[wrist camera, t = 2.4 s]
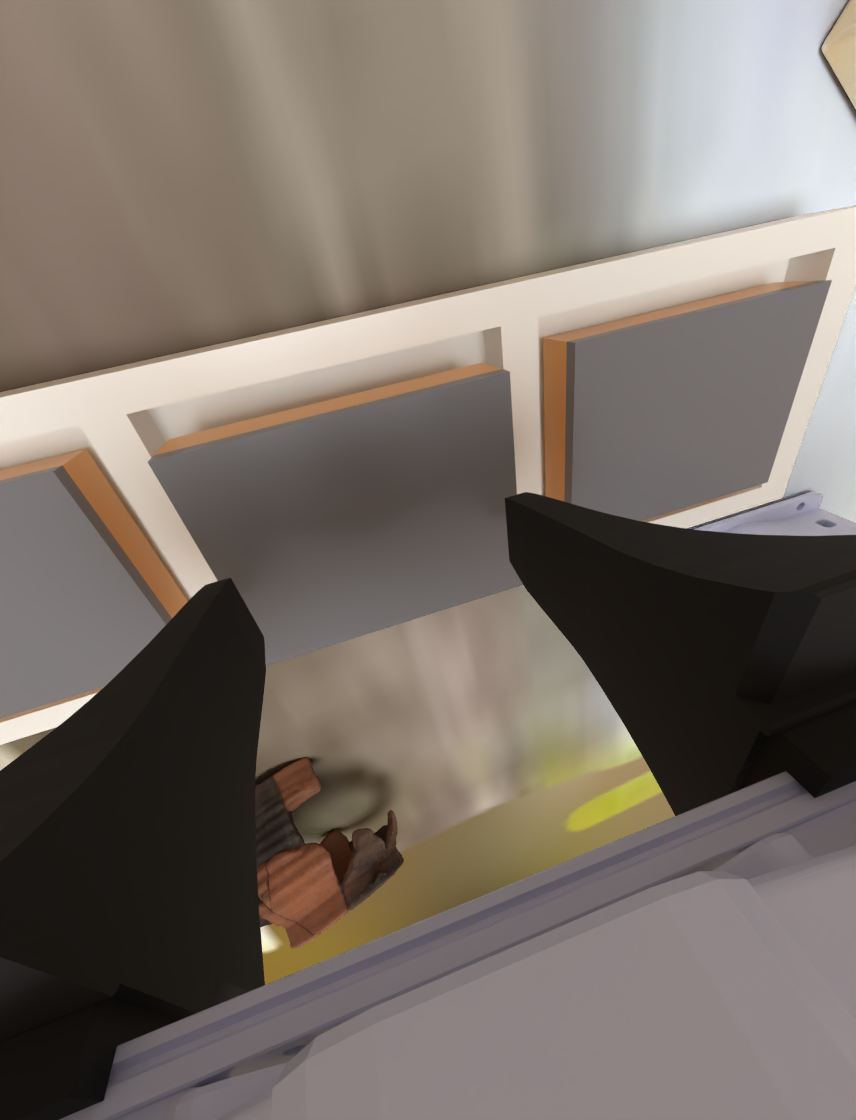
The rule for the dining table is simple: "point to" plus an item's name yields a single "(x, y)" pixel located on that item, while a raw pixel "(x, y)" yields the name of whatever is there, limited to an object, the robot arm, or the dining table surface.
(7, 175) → the dining table surface
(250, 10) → the dining table surface
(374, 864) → the brown grey irregular piece
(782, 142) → the dining table surface
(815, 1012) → the robot arm
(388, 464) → the middle button
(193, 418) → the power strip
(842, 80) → the coffeecake box
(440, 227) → the dining table surface
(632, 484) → the right button
